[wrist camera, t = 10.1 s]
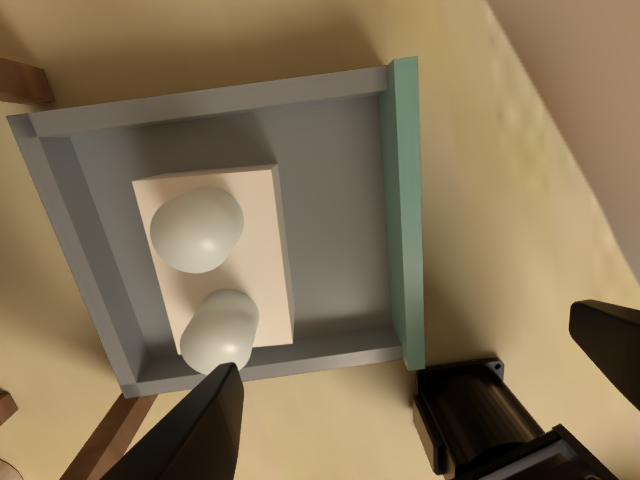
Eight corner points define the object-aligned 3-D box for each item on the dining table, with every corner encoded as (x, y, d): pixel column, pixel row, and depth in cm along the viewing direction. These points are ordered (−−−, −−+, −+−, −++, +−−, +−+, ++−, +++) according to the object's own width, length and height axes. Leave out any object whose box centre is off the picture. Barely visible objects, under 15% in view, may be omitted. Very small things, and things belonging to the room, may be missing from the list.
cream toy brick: (277, 163, 17) (263, 176, 11) (294, 308, 19) (291, 378, 14) (166, 172, 16) (93, 190, 11) (199, 317, 19) (156, 392, 14)
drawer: (391, 75, 16) (417, 56, 13) (403, 328, 21) (425, 368, 18) (57, 120, 16) (-17, 114, 13) (148, 364, 21) (115, 412, 18)
